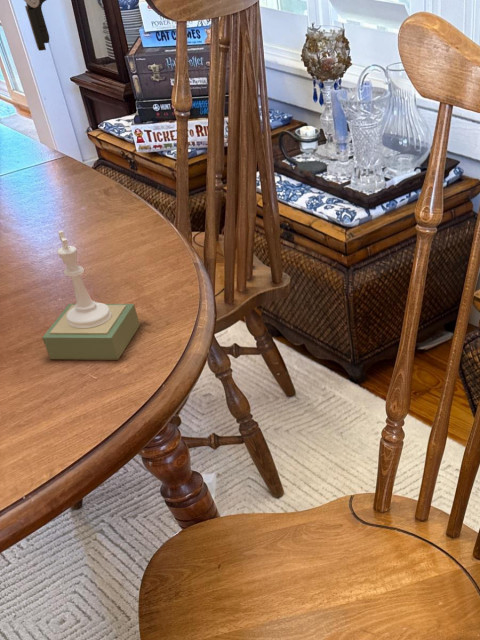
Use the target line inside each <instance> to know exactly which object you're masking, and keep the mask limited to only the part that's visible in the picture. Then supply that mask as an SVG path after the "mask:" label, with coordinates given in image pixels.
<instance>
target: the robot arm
mask: <svg viewBox="0 0 480 640" xmlns="http://www.w3.org/2000/svg"><path fill="white" fill-rule="evenodd" d="M23 1H24V2H25V4H26V5H25V6H24V7H25V12H26V15H27V18H28V21H29V24H30V25H29V26H30V28H31V31H32V34H33V38H34V41H35V44H36V47H37V50H38V51H46V50H47V48H46V44H49V43H50V34H49V31H48V27H47V24H46V21H45V16H44V12H43V9H42V6H43V3H45V2H46V1H47V0H23Z"/></svg>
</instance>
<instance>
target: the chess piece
mask: <svg viewBox="0 0 480 640" xmlns="http://www.w3.org/2000/svg"><path fill="white" fill-rule="evenodd" d="M57 233H58V238H59V240H60V242H61V244H62V246H61V247H59V248H58V249H57V251H56V253H57V255H58V256H59V258H60V259H61V260H62V262H63V263H64V265H66V268H65V269H64V270H63V274H64V276H66V277H70V279H71V283H72V287H73V291H74V296H75V301H76V303H75V304H76V305H75V307H74V308H72V309H71V310H69V312H68V313H67V315H66V318H67V323H68V324H69V325H70V326H72V327H74V328H91V327H95V326H98V325H101V324H103V323H105V322H106V321H108V320H109V319H110V317H111V315H112V313H111V311H110V309H109V307H108V306H107V305H105V304H106V303H102V302H98V301H95V300H94V299H92V298H91V296H90V293H89V292H88V290H87V288H86V285H85V283H84V281H83V279H82V276H81V275H82V274H83V273H84V272H85V269H84V268H83V266H82V265H78V249H77V247H76V246H73V245H69V242H68V239H67V238H66V236H65V233H64V230H59V231H57Z"/></svg>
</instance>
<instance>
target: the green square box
mask: <svg viewBox="0 0 480 640" xmlns="http://www.w3.org/2000/svg"><path fill="white" fill-rule="evenodd" d="M76 304H77V303H68V304H67V306H66V307H65V308H64V310H63V311H62V312H61V313H60V315H58V317H57V319H55V321H54V322H53V323H52V325H50V327H49V328H48V329H47V331H46V332H45V333H44V334H43V336H42V337H41V339H42V341H43V343H44V346H45V348H46V352H47V354H48V356H49V359H50V360H83V361H84V360H90V361H91V360H94V361H96V360H97V361H99V360H101V361H104V360H107V361H119V359H120V358H121V356H122V355H123V353H124V352H125V350H126V349H127V346H128V345H129V344H130V342H131V340H132V339H133V337H134V336H135V334H136V333H137V331H138V329H139V328H140V326H141V323H140V319H139V316H138V312H137V310H136V306H135V304H134V303H104V304H105V305H107V306H108V307H109V309H110V311H111V313H112V315H111V317H110V319H109V320H108V321H106V322H105V323H103V324H101V325H98V326H95V327H91V328H74V327H72V326H70V325H69V324H68V323H67V318H66V315H67V313H68V312H69V310H71V309H72V308H74V307H75V305H76Z"/></svg>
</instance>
